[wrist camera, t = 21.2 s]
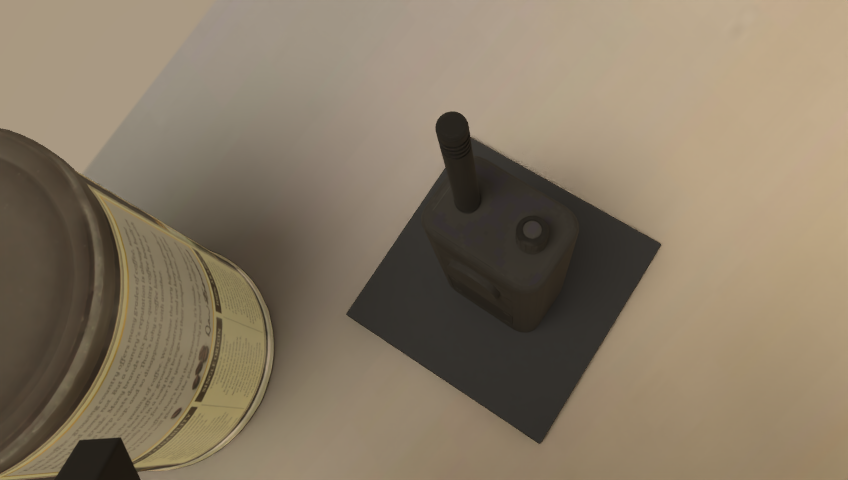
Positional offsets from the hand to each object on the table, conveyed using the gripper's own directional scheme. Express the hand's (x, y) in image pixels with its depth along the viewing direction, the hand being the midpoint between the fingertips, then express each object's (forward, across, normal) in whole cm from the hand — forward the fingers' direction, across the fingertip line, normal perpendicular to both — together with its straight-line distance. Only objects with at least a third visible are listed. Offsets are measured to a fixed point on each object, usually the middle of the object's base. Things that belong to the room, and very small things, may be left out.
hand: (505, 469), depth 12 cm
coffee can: (+17, -15, -10) cm, 24 cm away
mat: (+18, 0, -8) cm, 20 cm away
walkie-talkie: (+18, 0, -8) cm, 19 cm away
